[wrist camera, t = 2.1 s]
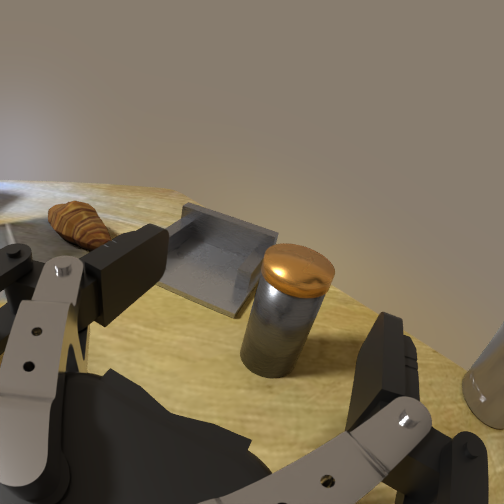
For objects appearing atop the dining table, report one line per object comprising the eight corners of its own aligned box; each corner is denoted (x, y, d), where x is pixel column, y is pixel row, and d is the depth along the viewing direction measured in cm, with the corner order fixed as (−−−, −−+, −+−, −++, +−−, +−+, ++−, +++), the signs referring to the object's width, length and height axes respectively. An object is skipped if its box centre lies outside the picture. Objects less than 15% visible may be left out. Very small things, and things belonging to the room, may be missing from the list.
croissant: (32, 227, 37) (29, 193, 35) (69, 212, 43) (68, 181, 40) (86, 267, 33) (84, 227, 31) (127, 246, 39) (129, 209, 36)
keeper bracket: (184, 233, 44) (188, 202, 42) (269, 264, 42) (278, 232, 39) (130, 272, 34) (131, 235, 32) (233, 318, 31) (242, 280, 29)
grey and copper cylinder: (295, 341, 30) (330, 252, 25) (296, 383, 26) (339, 290, 21) (242, 331, 30) (266, 237, 25) (235, 372, 26) (262, 273, 21)
